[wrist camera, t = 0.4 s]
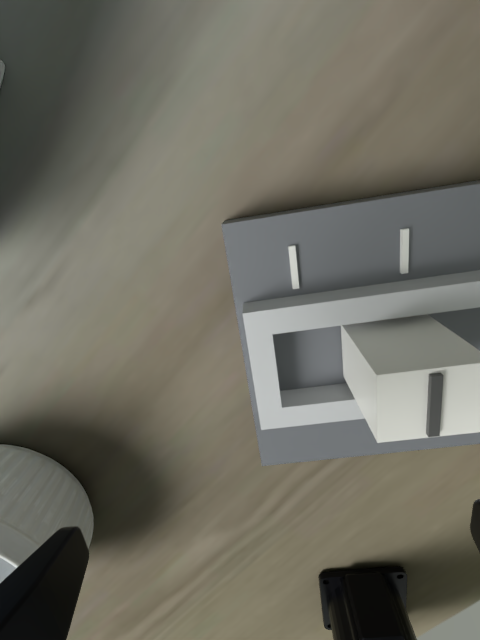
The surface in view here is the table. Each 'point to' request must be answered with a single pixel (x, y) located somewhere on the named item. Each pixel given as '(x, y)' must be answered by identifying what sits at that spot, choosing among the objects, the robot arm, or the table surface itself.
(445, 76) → the table surface
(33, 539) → the ramekin
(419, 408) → the fader knob
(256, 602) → the table surface
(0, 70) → the thin grey upright strip
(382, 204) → the console
